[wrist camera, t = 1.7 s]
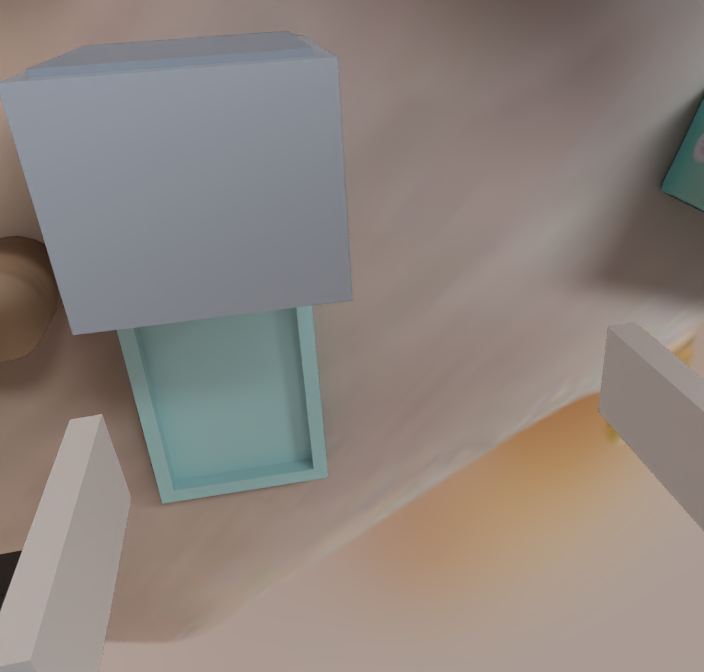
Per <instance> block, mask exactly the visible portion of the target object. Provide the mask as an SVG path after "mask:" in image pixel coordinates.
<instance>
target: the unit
mask: <svg viewBox="0 0 704 672" xmlns="http://www.w3.org/2000/svg"><path fill="white" fill-rule="evenodd" d="M0 96H1V100H2V103H3V106H4V110H5V113H6V116H7V120H8V123H9V126H10V129H11V133H12V136H13V139H14V143H15V146H16V149H17V153H18V156H19V159H20V163H21V166H22V169H23V172H24V176H25V179H26V182H27V186H28V189H29V192H30V196H31V199H32V202H33V205H34V209H35V212H36V215H37V219H38V222H39V225H40V229H41V232H42V235H43V239H44V242H45V245H46V248H47V252H48V255H49V258H50V262H51V265H52V268H53V272H54V275H55V278H56V282H57V285H58V288H59V291H60V295H61V298H62V301H63V305H64V308H65V311H66V315H67V318H68V321H69V325H70V328H71V331H72V334H73V335H80V334H88V333H96V332H104V331H112V330H120V329H128V328H136V327H144V326H152V325H160V324H168V323H176V322H184V321H192V320H200V319H208V318H216V317H224V316H232V315H240V314H248V313H256V312H264V311H272V310H280V309H288V308H296V307H304V306H312V305H320V304H328V303H336V302H344V301H352V285H351V269H350V252H349V236H348V219H347V203H346V186H345V170H344V154H343V137H342V121H341V104H340V88H339V72H338V57H337V56H335V55H334V54H332V53H330V52H329V51H327V50H325V49H324V48H322V47H321V46H319V45H317V44H316V43H314V42H312V41H311V40H309V39H308V38H306V37H304V36H303V35H293V34H292V33H290V32H289V31H282V32H268V33H254V34H240V35H227V36H213V37H199V38H185V39H171V40H157V41H143V42H129V43H115V44H101V45H87V46H82V47H80V48H78V49H75V50H73V51H70V52H68V53H65V54H63V55H60V56H58V57H55V58H53V59H50V60H48V61H45V62H43V63H40V64H38V65H35V66H33V67H30V68H28V69H26V72H23V73H21V74H18V75H16V76H14V77H11V78H9V79H6V80H4V81H1V82H0Z"/></svg>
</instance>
